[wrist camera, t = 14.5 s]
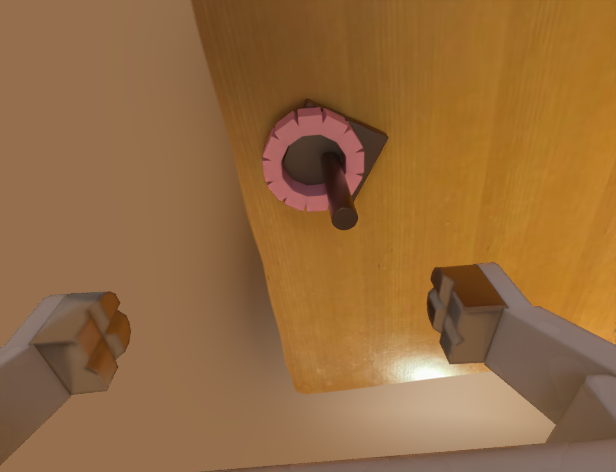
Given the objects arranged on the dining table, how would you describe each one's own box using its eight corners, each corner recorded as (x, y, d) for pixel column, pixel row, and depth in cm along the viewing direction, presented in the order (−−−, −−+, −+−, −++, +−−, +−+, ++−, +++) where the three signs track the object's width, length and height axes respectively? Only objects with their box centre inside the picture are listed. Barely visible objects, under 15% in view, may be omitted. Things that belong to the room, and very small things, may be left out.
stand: (274, 177, 39) (268, 246, 28) (306, 98, 35) (314, 143, 23) (347, 203, 41) (368, 278, 30) (385, 132, 37) (427, 189, 26)
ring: (271, 203, 39) (270, 215, 37) (257, 112, 34) (255, 120, 31) (359, 195, 39) (363, 207, 37) (359, 103, 34) (364, 110, 31)
